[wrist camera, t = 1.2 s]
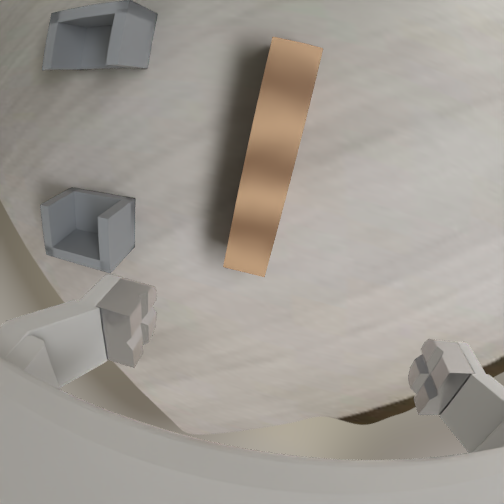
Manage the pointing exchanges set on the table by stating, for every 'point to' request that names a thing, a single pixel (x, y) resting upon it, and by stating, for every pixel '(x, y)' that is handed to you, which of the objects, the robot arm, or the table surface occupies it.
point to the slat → (271, 153)
